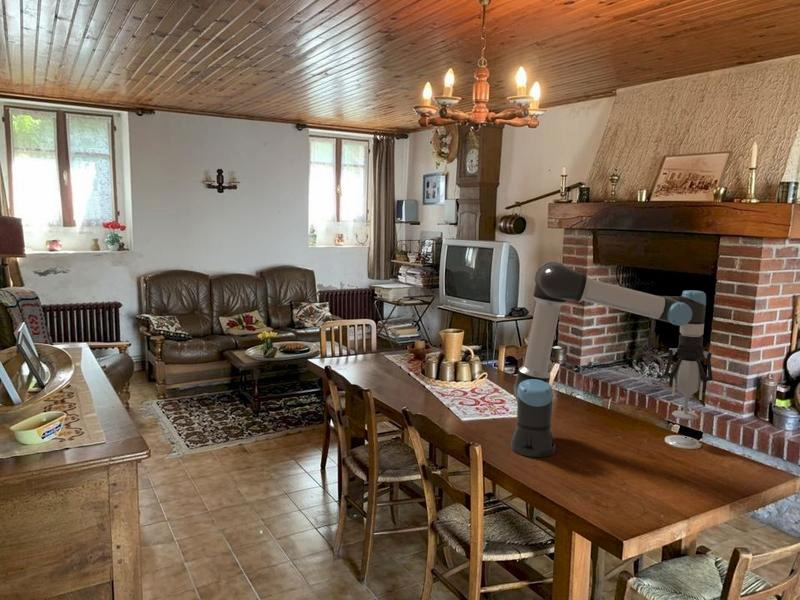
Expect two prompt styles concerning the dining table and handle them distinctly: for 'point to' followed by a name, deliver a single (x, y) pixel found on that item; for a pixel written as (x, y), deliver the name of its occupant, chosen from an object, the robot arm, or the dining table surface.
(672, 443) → the light grey plate
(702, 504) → the dining table surface
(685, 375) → the wineglass
